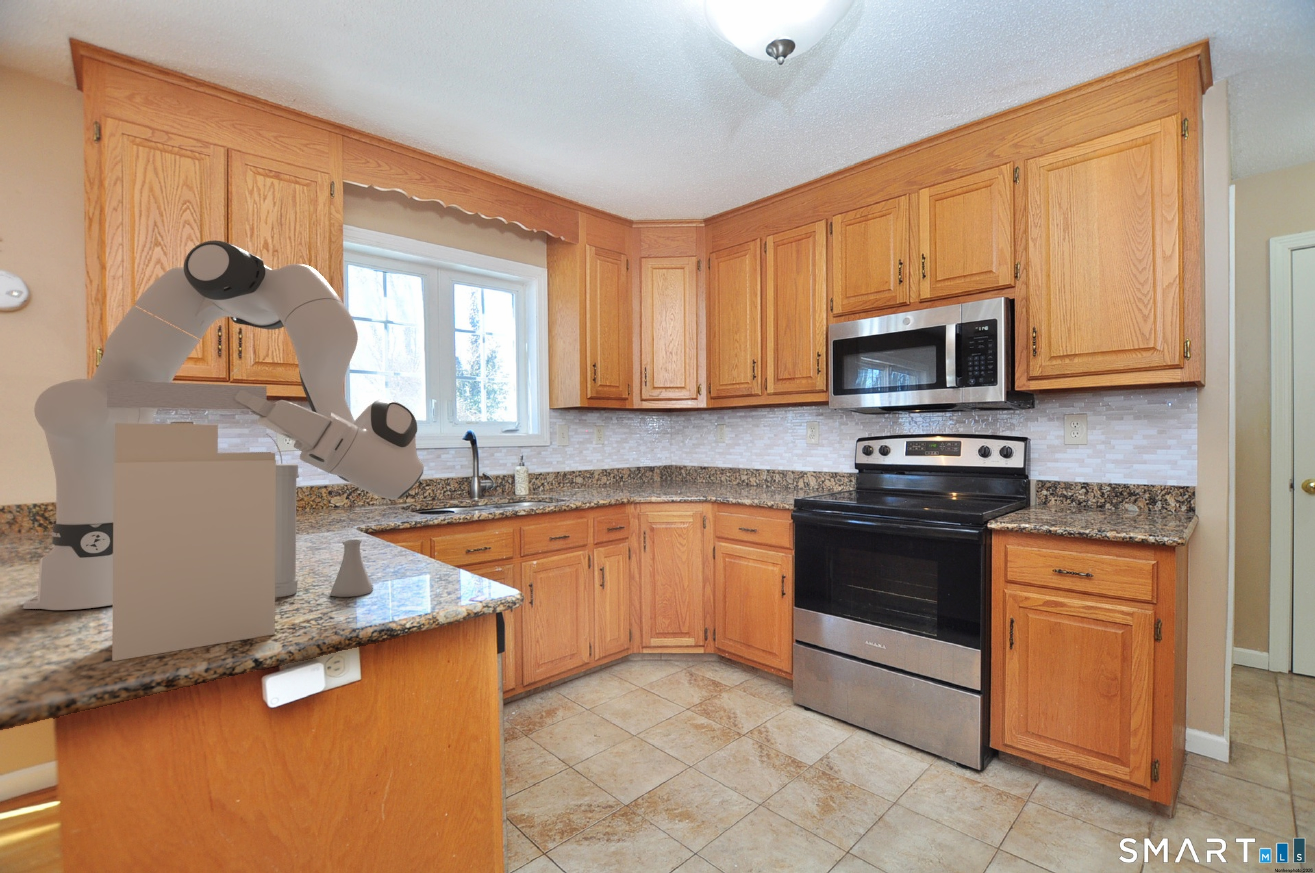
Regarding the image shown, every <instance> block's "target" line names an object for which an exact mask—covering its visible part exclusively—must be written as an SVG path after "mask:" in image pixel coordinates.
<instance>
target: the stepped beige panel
mask: <svg viewBox="0 0 1315 873" xmlns="http://www.w3.org/2000/svg"><path fill="white" fill-rule="evenodd" d="M218 434H219V425H218V424H201V423H198V424H197V423H194V424H193V423H190V424H189V423H152V424H136V423H115V462H114V496H113V605H112V635H111V636H112V644H111V645H112V646H111V647H112V650H111V651H112V653H111V654H112V655H111V656H112V658H111V660H112V662H116V661H121V660H127V659H135V658H139V657H140V658H141V657H146V656H151V655H152V656H153V655H157V654H158V655H159V654H163V653H164V654H165V653H171V652H176V651H181V650H188V649H194V648H200V647H201V648H202V647H206V646H211V645H212V646H213V645H218V644H224V643H230V642H237V641H243V640H248V639H254V638H255V639H256V638H261V637H268V636H272V635H275V634H276V632H275V631H276V598H275V525H276V464H277V460H276V452H271V451H256V452H255V451H254V452H253V451H251V452H250V451H248V452H247V451H246V452H245V451H244V452H242V451H239V452H236V451H235V452H231V451H230V452H229V451H228V452H226V451H225V452H219V450H218V448H219V446H218V445H219V442H218V440H219V437H218V436H219V435H218Z"/></svg>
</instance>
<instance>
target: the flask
mask: <svg viewBox="0 0 1315 873" xmlns="http://www.w3.org/2000/svg"><path fill="white" fill-rule="evenodd" d="M362 542H363V540H362V539H357V538H353V539H350V538H349V539H345V540H343V541H342V545H343V549H344V550H343V557H342V561H341V564H340V568H339V569H338V570H339V571H338V573H337V576H336V578H335V581H334V583H333V586H332V588H331V591H330V593H329V596H330V597H331V596H332V597H338V598H347V597H348V598H350V597H360V596H363V595H366V594H369V593H372V592H373V590H374V587H373V585H372V582H371V579H370V577H369V574H368V573H367V570H366V567H365V564H364V562H363V558H362V555H361V554H362V553H361V544H362Z"/></svg>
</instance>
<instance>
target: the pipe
mask: <svg viewBox="0 0 1315 873" xmlns="http://www.w3.org/2000/svg"><path fill="white" fill-rule="evenodd" d="M265 435H267V437H269V438H270V439H271V440H272V442H273V443H274V444H275V446H276V448H277V450H278V453H279V458H280V463H276V525H275V599H276V598H285V597H289V596H292V595H295V594H296V593H297V592H298V583H299V578H298V577H296V576H297V574H296V573H297V572H296V571H297V569H296V567H297V566H296V565H297V561H296V560H297V479H299V478H300V473H299V465H298V464H297V463H283V458H282V452H281V449H280V447H279V445H278V444H277V442H276V440H275V439H274V437H272V436H271V435H270V434H268V433H265Z"/></svg>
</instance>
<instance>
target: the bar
mask: <svg viewBox="0 0 1315 873" xmlns="http://www.w3.org/2000/svg"><path fill="white" fill-rule="evenodd" d="M267 389H268V388H267V386H265V385H243V384H242V385H240V384H237V385H236V384H215V383H214V384H213V383H211V384H210V383H191V382H190V383H188V382H187V383H186V382H171V383H167V382H141V381H115V380H107V407H109V408H141V409H158V410H159V409H160V410H161V409H162V410H197V411H198V410H203V411H205V410H206V411H207V410H209V411H248V410H253V409H251V408H249V407H247V406H245V405H243V404H241V403H239V402H237V401H235V399H234V398H235V396H236V395H237V393H238V392H239V391H240V390H244V391H246V392H248V393H250V394H252V395H254V396H257V397H259V398H262V399H265V400H267V395H268V394H267V393H268V392H267ZM267 401H268V400H267Z"/></svg>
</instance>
